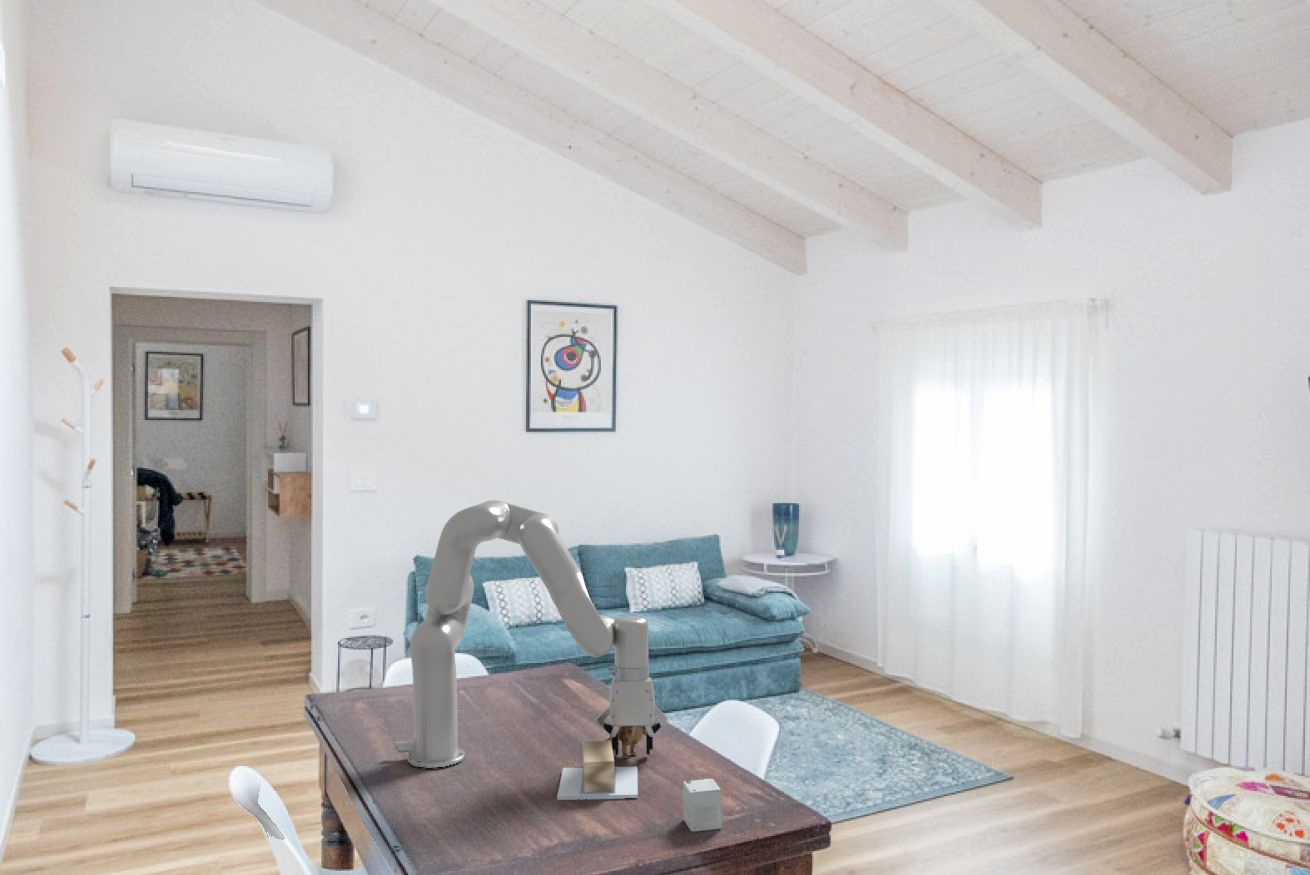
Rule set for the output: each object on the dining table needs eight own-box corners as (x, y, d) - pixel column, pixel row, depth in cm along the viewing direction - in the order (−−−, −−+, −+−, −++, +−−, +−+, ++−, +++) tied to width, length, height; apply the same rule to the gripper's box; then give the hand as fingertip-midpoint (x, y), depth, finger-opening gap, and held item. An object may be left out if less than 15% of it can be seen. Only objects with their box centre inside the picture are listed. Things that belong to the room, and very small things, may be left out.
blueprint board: (557, 800, 196) (557, 795, 196) (563, 771, 212) (563, 767, 212) (637, 798, 197) (637, 793, 197) (637, 770, 213) (637, 765, 213)
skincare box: (722, 829, 182) (722, 789, 181) (690, 832, 180) (690, 792, 180) (713, 816, 187) (713, 777, 187) (682, 819, 186) (682, 780, 186)
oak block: (584, 792, 198) (584, 762, 198) (583, 769, 211) (582, 741, 210) (614, 790, 198) (614, 761, 198) (611, 768, 211) (610, 740, 211)
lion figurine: (652, 758, 220) (651, 718, 220) (632, 763, 217) (632, 722, 217) (613, 741, 232) (613, 703, 231) (594, 746, 228) (594, 707, 228)
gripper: (592, 677, 216) (593, 759, 217) (671, 676, 217) (671, 758, 217) (593, 669, 224) (594, 747, 224) (669, 668, 224) (670, 746, 224)
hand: (632, 752), depth 221 cm, fingers closed on lion figurine, 6 cm apart
